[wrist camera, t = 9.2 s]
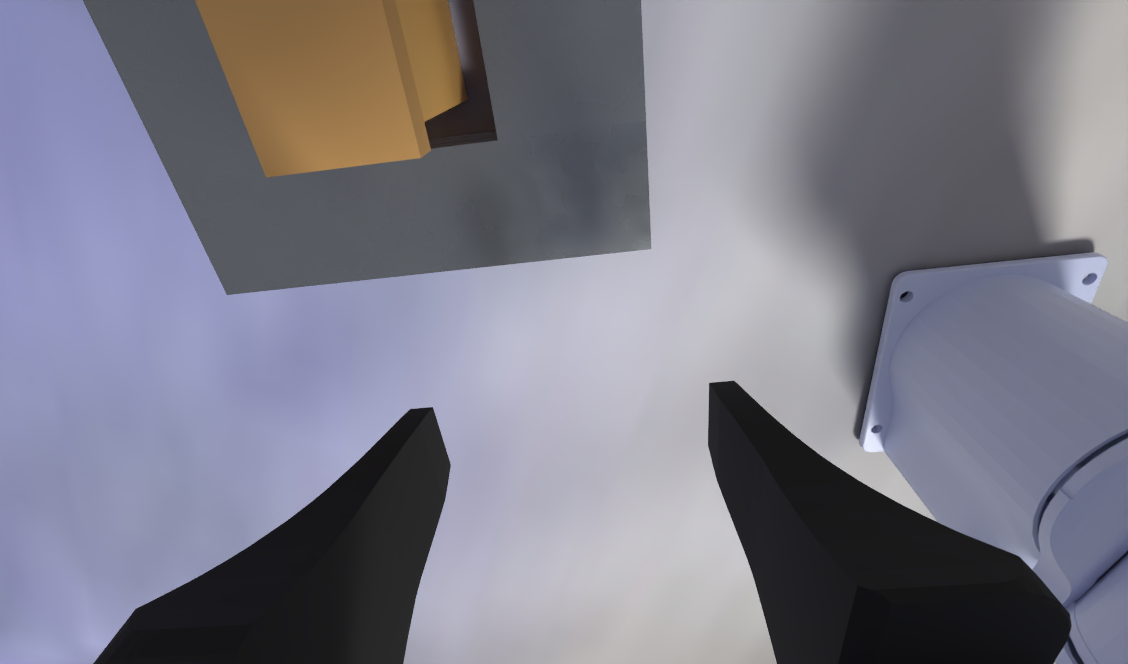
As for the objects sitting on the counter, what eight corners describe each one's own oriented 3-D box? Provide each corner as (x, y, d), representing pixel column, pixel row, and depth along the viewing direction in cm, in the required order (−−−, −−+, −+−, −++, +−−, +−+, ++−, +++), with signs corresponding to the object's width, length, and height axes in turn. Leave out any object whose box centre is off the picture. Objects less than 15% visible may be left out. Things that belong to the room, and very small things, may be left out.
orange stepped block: (471, 120, 19) (421, 158, 13) (366, 134, 19) (265, 177, 13) (427, -106, 15) (330, -201, 9) (301, -84, 16) (129, -164, 10)
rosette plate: (643, 226, 20) (650, 248, 18) (262, 269, 22) (227, 294, 19) (612, -401, 13) (620, -494, 10) (20, -279, 14) (-83, -339, 12)
